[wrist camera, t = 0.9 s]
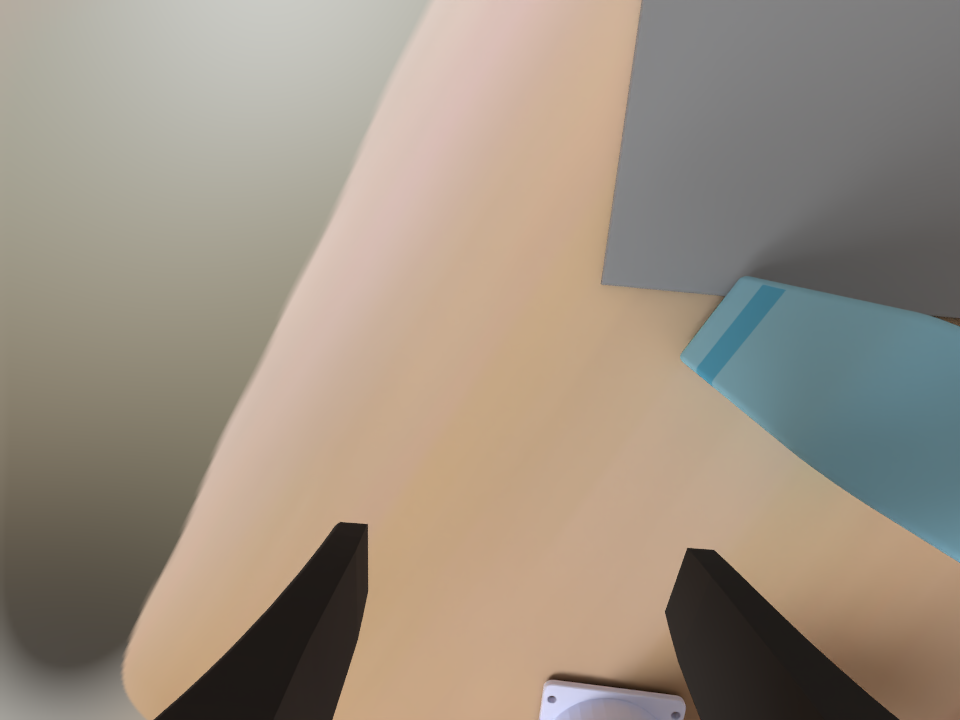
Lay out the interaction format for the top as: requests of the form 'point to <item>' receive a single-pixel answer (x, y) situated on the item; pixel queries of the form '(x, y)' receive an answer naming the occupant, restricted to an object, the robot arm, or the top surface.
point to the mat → (793, 150)
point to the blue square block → (847, 394)
